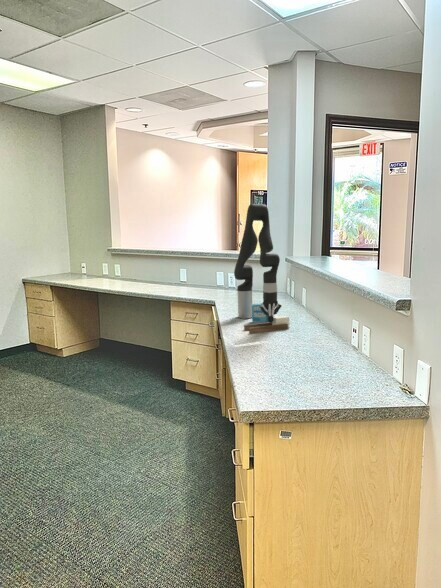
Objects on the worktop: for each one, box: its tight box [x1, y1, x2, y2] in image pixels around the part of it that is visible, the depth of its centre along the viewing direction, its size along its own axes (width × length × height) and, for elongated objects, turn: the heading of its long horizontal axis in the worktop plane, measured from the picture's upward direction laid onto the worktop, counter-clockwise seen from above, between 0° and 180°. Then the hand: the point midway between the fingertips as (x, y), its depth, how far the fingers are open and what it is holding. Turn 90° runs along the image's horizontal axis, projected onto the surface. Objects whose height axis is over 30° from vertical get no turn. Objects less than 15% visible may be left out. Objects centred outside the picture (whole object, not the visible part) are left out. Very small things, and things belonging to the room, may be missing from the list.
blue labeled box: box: [251, 302, 269, 324], centre depth 248 cm, size 12×4×12 cm, turn 89°
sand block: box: [272, 315, 290, 329], centre depth 232 cm, size 5×8×6 cm, turn 108°
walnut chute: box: [243, 322, 289, 335], centre depth 230 cm, size 10×22×4 cm, turn 108°
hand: (270, 322), depth 230 cm, fingers closed
